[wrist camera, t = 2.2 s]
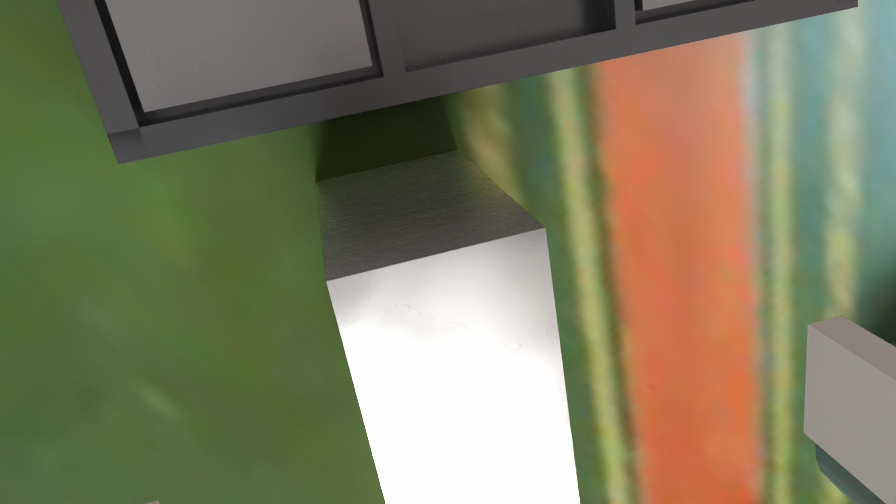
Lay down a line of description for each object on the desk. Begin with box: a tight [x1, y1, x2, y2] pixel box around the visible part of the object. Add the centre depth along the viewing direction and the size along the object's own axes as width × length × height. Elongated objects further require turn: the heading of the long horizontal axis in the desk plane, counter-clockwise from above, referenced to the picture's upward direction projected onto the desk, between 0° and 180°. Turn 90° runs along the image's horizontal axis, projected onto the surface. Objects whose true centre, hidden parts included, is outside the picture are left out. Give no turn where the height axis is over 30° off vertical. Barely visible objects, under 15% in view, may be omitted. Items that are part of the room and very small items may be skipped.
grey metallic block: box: [315, 150, 580, 504], centre depth 18 cm, size 4×8×8 cm, turn 10°
